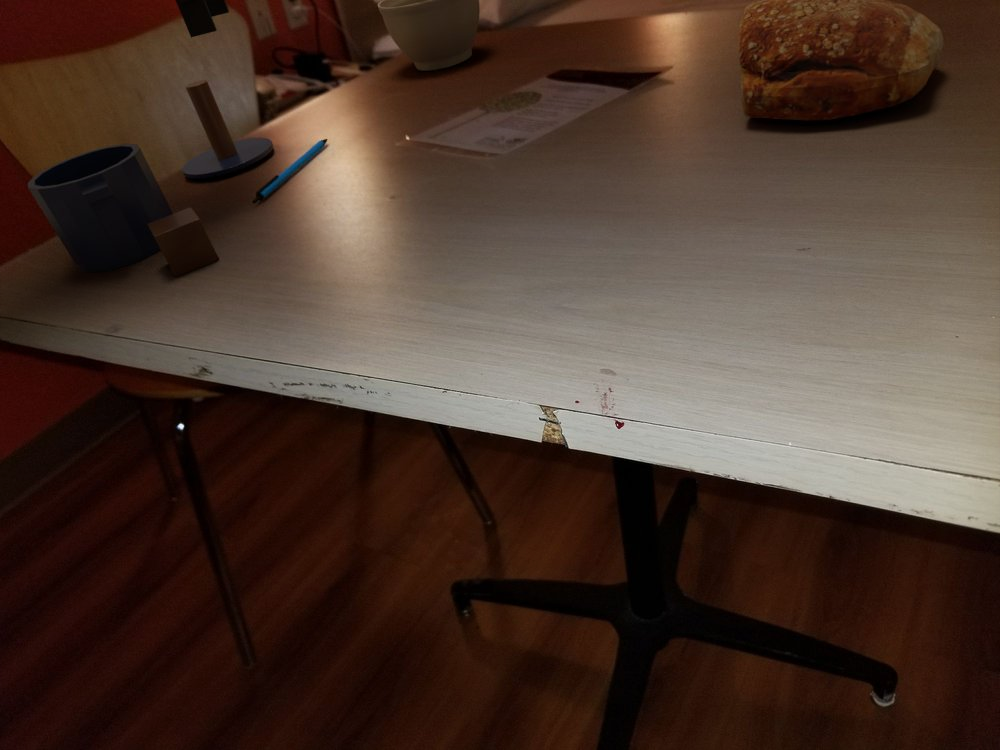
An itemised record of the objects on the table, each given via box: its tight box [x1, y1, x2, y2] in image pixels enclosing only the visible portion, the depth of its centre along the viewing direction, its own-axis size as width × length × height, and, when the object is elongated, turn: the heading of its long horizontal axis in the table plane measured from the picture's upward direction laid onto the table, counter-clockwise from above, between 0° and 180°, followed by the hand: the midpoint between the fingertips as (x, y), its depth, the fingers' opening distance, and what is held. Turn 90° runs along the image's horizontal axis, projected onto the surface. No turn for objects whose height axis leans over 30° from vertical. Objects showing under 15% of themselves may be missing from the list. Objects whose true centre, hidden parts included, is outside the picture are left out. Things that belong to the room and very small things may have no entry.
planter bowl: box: [377, 0, 481, 72], centre depth 118 cm, size 16×16×11 cm
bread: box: [737, 0, 945, 122], centre depth 72 cm, size 20×18×10 cm
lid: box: [181, 79, 274, 179], centre depth 96 cm, size 12×12×11 cm
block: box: [147, 207, 220, 278], centre depth 73 cm, size 4×4×4 cm
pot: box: [27, 143, 174, 273], centre depth 79 cm, size 11×17×10 cm
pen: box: [251, 138, 329, 204], centre depth 90 cm, size 1×19×1 cm, turn 164°
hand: (211, 24), depth 83 cm, fingers open, 13 cm apart
